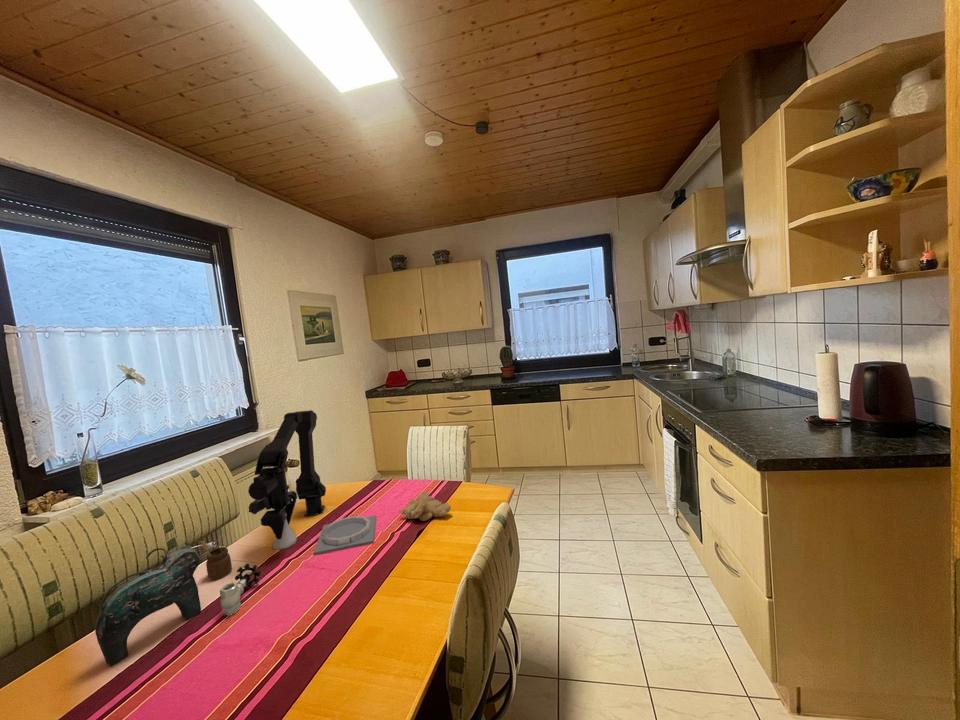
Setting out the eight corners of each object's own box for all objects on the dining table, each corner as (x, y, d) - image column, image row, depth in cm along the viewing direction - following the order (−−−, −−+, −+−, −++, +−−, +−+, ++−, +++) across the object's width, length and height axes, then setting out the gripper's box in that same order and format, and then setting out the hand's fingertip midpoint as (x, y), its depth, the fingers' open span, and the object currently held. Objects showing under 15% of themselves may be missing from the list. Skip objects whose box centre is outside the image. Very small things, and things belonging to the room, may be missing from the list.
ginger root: (395, 510, 141) (398, 488, 141) (436, 508, 148) (439, 487, 148) (405, 530, 127) (409, 506, 127) (450, 527, 134) (453, 504, 134)
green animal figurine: (200, 602, 101) (188, 530, 100) (212, 609, 98) (200, 534, 96) (98, 662, 84) (82, 576, 83) (109, 673, 81) (92, 584, 79)
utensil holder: (236, 569, 115) (231, 531, 114) (215, 583, 109) (208, 542, 108) (224, 566, 117) (218, 528, 116) (202, 579, 112) (196, 539, 111)
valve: (242, 614, 95) (263, 583, 107) (238, 589, 95) (259, 561, 107) (213, 619, 94) (238, 587, 106) (209, 594, 94) (234, 565, 106)
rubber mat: (324, 527, 136) (323, 525, 136) (376, 517, 140) (376, 515, 140) (313, 555, 119) (313, 552, 119) (373, 543, 122) (373, 540, 122)
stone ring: (327, 526, 135) (326, 521, 135) (371, 517, 138) (371, 512, 138) (318, 549, 120) (318, 543, 120) (369, 539, 123) (368, 534, 123)
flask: (301, 537, 130) (297, 509, 130) (289, 550, 123) (284, 520, 122) (281, 538, 131) (277, 510, 130) (268, 551, 124) (263, 521, 123)
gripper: (259, 480, 133) (266, 523, 134) (238, 503, 115) (246, 552, 116) (294, 474, 135) (300, 517, 137) (278, 496, 117) (285, 544, 118)
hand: (283, 531), depth 127 cm, fingers open, 9 cm apart
